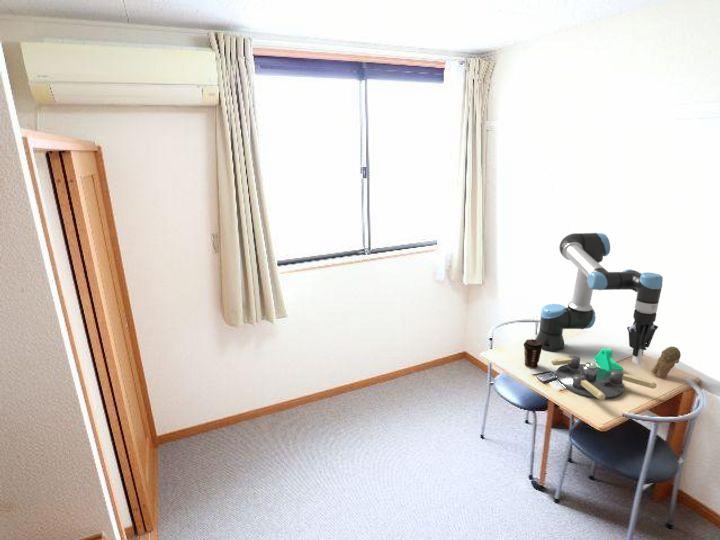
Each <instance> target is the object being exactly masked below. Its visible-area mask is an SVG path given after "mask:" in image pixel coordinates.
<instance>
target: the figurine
mask: <svg viewBox="0 0 720 540" xmlns="http://www.w3.org/2000/svg"><path fill="white" fill-rule="evenodd" d="M681 357H682V355H681V351H680V350H679V348H678V347H676V346H669V347H666V348H665V349H663V350H662V351H661V355H660V357H658V359H657V361H656V364H655V366H654V367H653V368H652V369H651V371H650V373H652V374H655V375H656V376H657V377H658V378H667V376H668V374H669V373H670V372H671V370H672V369H673V368H674V367H675V365H676V364H679V363H680V359H681Z"/></svg>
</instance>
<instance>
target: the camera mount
mask: <svg viewBox="0 0 720 540" xmlns="http://www.w3.org/2000/svg"><path fill="white" fill-rule="evenodd" d="M612 357H613V351H612V349H611V348H602V349H600V351H598V353H597V354H596V356H594V359H595V360H596V361H597V362H596V361H595V360H594V361H595V362H596V364H599V366H598V367H599V368H601V369H604V370H606V371H609V372H611V371H612V370H618V371H621V372H623V373H624V367H623V366H622V365H621V364H619V363H617V362H616V361H615V360H614V359H612Z"/></svg>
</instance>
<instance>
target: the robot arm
mask: <svg viewBox="0 0 720 540" xmlns="http://www.w3.org/2000/svg"><path fill="white" fill-rule="evenodd" d="M610 252H611V242H610V239H609V238H608V236H607V234H605V233H599V232H585V233H583V232H582V233H575V232H574V233H570V234H568V235H566V236H565V237H563V238H562V239H561V241H560V243H559V253H560V254H561V255H562V257H563V258H565V259H566V260H568V261H570V262H571V263H573V264H574V265H575V267H576V268H577V272H576V279H575V284H574V290H573V295H572V301H571V300H570V301H569V302H568V304H567V305H568V306H567V307H566V306H564V305H563V304H561V303H560V304H557V303H550V304H549V303H548V304H546V305H544V306H543V307H542V308H541V312H540V322H539V331H538V333H537V334H536V335H537V336H536V338H535V339H534V340H538V341H539V342H541V345H542V349H541V350H544V351H546V352H561V351H563V350H564V349H565V346H566V345H565V340H564V335H563V331H564V330H585V329H590V328H592V327H593V326H594V324H595V322H596V318H597V317H596V312H595V310H594V308H593V306H592V305H591V301H592V297H593V290H595V291H596V290H597V291H609V290H610V291H611V290H612V291H613V290H614V291H615V290H622V291H623V290H624V291H625V290H631V291H633V292H635V293H636V299H635V303H634V304H635V305H634V312H633V319H634V321H633V323H632V325H631V326H627V327H626V329H627V331H628V344H629V345H628V346H629V347H630V348H632V359H631V360H632V361H631V362H632V363H634V364H636V365H640V364H641V362H642V356H643V355H644V351H647V348H649V347H650V345H651V342H652V340H653V338H654V336H655V332H656V331H657V329H658V328H659V326H658V325H656V324H655V323H654V322H655V321H656V319H657V312H658V307H659V302H660V299H661V293H662V288H663V280H664V279H663V276H662V275H661V274H658V273H656V272H642V273H641V272H639V271H637V270H635V269H634V270H633V269H625V270H622V271H608V270H607V269H606V268H604V266H602V265H601V264H600V263H602V262H603V258H604V257H607V256H608V255H609V254H610Z"/></svg>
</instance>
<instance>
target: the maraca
mask: <svg viewBox="0 0 720 540" xmlns="http://www.w3.org/2000/svg"><path fill="white" fill-rule="evenodd" d="M551 364H552V365H553V366H563V365H566V364H568V366H569V367H570V368H573V369H578V368H579V365H580V364H581V357H580V356H578V355H571V354H570V355H569V356H568V357H561V358H553V359H551Z"/></svg>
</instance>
